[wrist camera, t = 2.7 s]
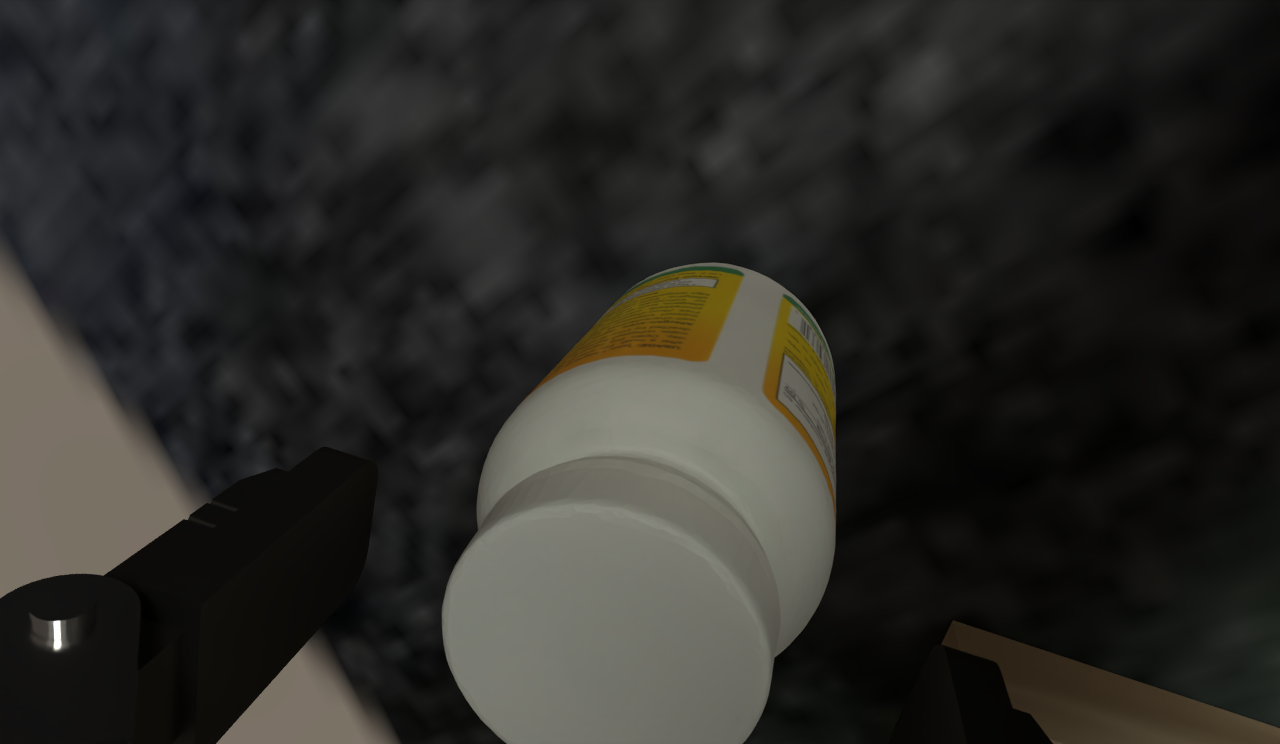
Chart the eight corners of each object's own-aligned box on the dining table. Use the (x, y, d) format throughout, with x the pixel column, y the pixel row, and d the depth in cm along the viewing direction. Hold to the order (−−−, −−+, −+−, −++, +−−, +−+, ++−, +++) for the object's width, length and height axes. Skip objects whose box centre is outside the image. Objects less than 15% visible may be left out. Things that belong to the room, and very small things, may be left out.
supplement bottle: (882, 332, 17) (942, 610, 9) (758, 523, 19) (702, 904, 11) (654, 210, 17) (479, 362, 9) (555, 413, 20) (334, 701, 11)
